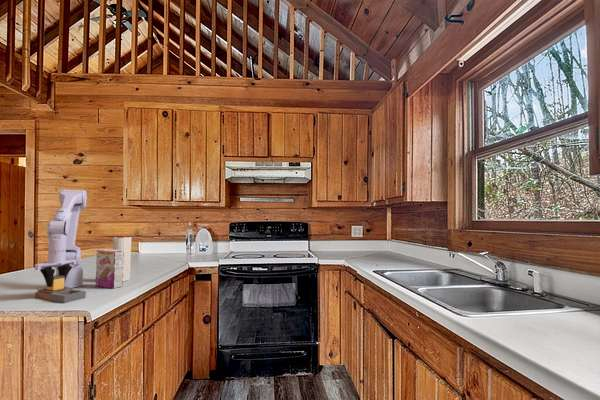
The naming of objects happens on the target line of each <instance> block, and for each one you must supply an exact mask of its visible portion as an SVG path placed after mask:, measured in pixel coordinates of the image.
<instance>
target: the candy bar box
mask: <svg viewBox="0 0 600 400" xmlns="http://www.w3.org/2000/svg"><path fill="white" fill-rule="evenodd" d="M123 259H124V251H122V250H113V249H111V248H110V249H109V248H104V249H97V250H96V262H95V263H96V264H95V265H96V269H95V287H99V288H105V289H112V290H114V289H119V288H122V287H123V283H124V282H123Z"/></svg>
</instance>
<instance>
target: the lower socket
mask: <svg viewBox="0 0 600 400" xmlns="http://www.w3.org/2000/svg"><path fill="white" fill-rule="evenodd" d="M86 295H87V293H86V290H80V289H74V288H72V289H70V290H65V291H60V292H56V293H51V294H50V300H49V301H50V302H55V301H56V303H62V304H66V303H71V302H74V301H79V300H82V299H85V298H87V297H86Z"/></svg>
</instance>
